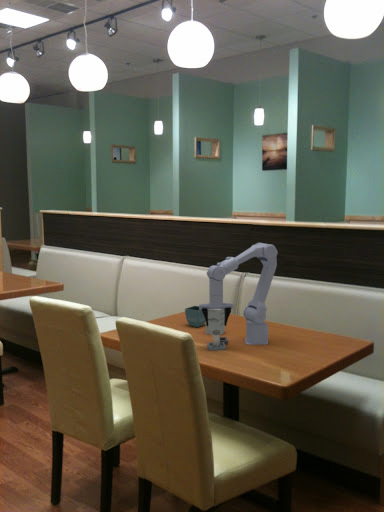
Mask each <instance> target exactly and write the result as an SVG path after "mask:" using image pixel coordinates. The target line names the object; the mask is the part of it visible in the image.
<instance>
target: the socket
mask: <svg viewBox="0 0 384 512" xmlns="http://www.w3.org/2000/svg"><path fill="white" fill-rule="evenodd" d="M220 342H224V344H225V346H226V345H229V340H228V337H227V336H220Z"/></svg>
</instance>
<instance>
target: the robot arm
mask: <svg viewBox="0 0 384 512" xmlns="http://www.w3.org/2000/svg"><path fill="white" fill-rule="evenodd" d="M278 254H279V252H278V250H277V248H276V245H274V244H270V243H269V244H268V243H263V242H257V243H255V244H252V245H251V247H249V248H247V249H246V250H244V251H243V252H241V253H239V254H238V255H237V256H235V257H233V256H227V257H225V259H224V260H222V261H221V262H217V263H216V265H210V266H209V267H208V269H207V271H206V276H207V277H208V279H209V280H208V281H209V282H208V283H209V292H208V293H209V303H199V304H198V306H199V310H202V312H203V315H204V317H205V320H206V322H205V327H206V326H208V309H224V312H225V319H224V325H225V327H227V325H228V320H229V317H230V315H231V313H232V310H234V308H235V307H234V306H235V304H234V303H227V302H226V303H225V302H224V279H225V278H226V276H227V275H228V274H230V273H232V272H234V271H236V270H237V269H238V268H239V265H241V264H243V263H245V262H247V261H248V260H251V259H253V258H257V259H259V261H260V262H261V263H262V265H263V266H262V268H261V273H260V275H259V279H258V282H257V285H256V288H255V292H254V295H253V298H252V299H251V300H250V301H249V302H247V305H246V307H245V308H244V310H243V317H244V318H245V322H246V324H245V325H246V330H245V332H246V334H245V338H244V343H245V344H246V345H248V346H250V345H253V346H254V345H255V346H256V345H269V325H268V322H265V321H266V318H267V311H268V310H267V308H268V307H267V306H266V300H267V297H268V295H269V292H270V291H269V290H270V287H271V284H272V282H273V279H274V275H275V272H276V270H277V266H278V263H277V262H278V261H277V259H278V258H277V256H278Z"/></svg>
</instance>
